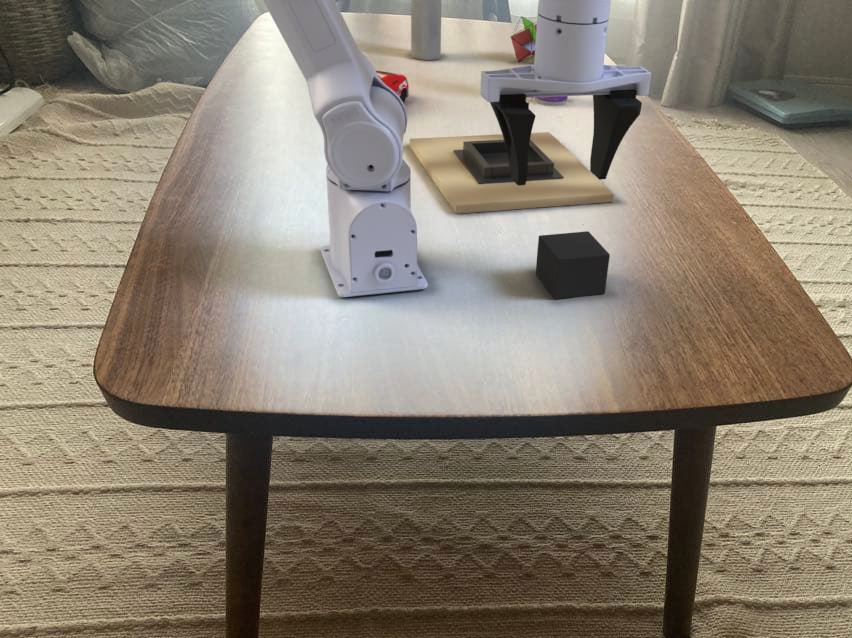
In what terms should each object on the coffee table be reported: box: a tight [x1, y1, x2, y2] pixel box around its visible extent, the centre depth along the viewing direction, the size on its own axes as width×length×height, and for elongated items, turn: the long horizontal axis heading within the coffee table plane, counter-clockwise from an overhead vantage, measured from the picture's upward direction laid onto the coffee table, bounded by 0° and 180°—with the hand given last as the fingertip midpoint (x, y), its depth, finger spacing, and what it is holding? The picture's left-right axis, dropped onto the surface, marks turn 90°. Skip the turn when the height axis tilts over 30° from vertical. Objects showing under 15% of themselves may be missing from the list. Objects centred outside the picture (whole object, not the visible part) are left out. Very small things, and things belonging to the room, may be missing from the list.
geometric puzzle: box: [510, 15, 537, 65], centre depth 145 cm, size 7×7×8 cm
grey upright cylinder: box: [410, 0, 443, 61], centre depth 142 cm, size 4×4×10 cm
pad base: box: [409, 131, 614, 215], centre depth 107 cm, size 20×18×2 cm
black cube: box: [535, 230, 611, 300], centre depth 85 cm, size 5×5×4 cm
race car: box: [375, 70, 410, 104], centre depth 122 cm, size 13×5×4 cm, turn 160°
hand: (558, 178), depth 82 cm, fingers open, 7 cm apart
